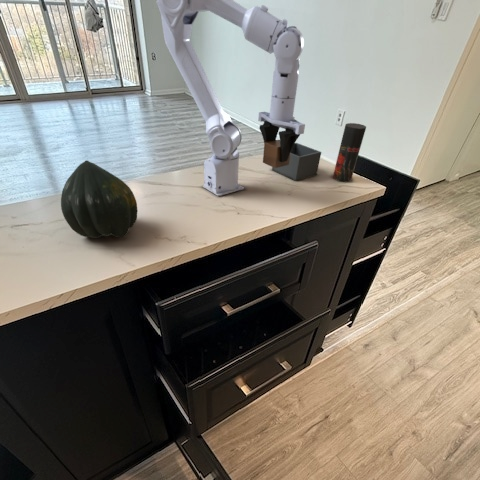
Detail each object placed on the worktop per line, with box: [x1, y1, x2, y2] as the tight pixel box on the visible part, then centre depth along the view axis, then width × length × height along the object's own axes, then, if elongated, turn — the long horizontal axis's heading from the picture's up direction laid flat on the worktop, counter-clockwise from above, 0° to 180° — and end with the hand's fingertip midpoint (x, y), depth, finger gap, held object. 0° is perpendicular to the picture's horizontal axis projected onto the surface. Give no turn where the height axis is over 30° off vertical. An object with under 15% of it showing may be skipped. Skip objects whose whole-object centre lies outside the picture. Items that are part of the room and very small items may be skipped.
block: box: [262, 139, 291, 168], centre depth 83 cm, size 5×5×5 cm
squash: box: [60, 159, 139, 239], centre depth 68 cm, size 14×15×15 cm
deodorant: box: [332, 122, 367, 183], centre depth 98 cm, size 6×6×15 cm
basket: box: [271, 142, 322, 182], centre depth 104 cm, size 10×17×7 cm, turn 39°
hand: (276, 158), depth 84 cm, fingers closed on block, 5 cm apart
